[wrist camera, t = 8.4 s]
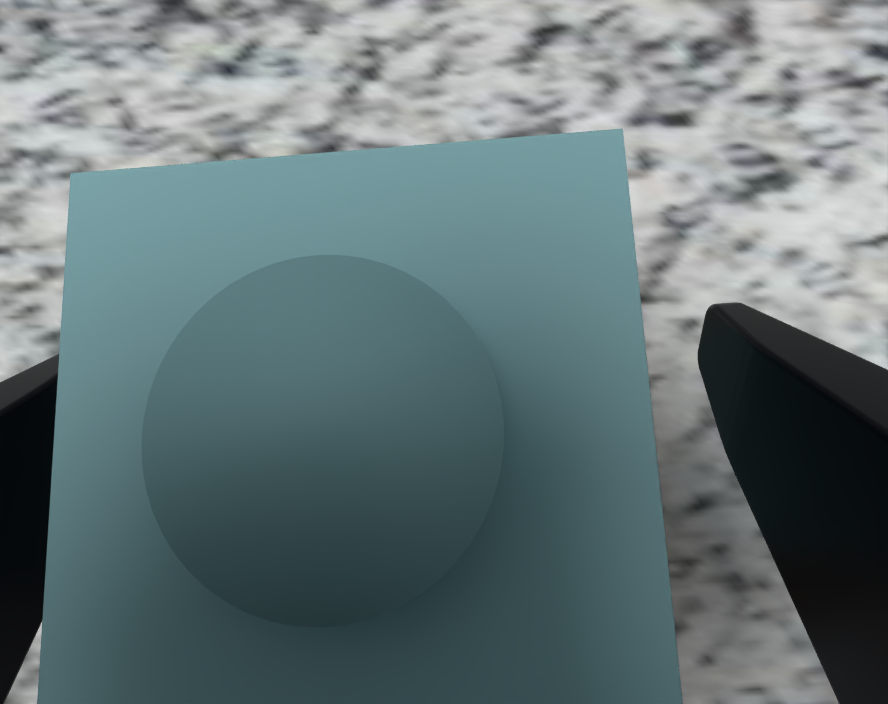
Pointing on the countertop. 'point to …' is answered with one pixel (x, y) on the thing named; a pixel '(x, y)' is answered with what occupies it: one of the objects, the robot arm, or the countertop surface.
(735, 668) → the countertop surface
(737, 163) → the countertop surface
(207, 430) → the teal pillar
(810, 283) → the countertop surface
